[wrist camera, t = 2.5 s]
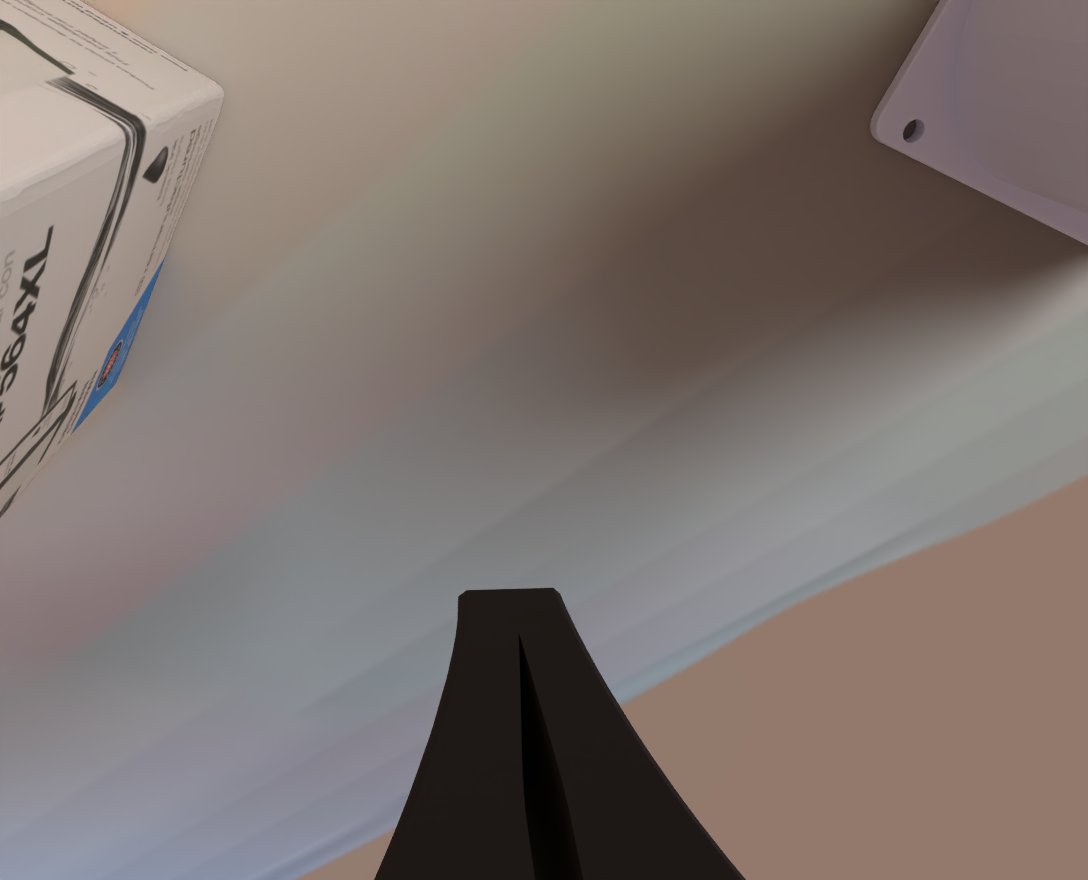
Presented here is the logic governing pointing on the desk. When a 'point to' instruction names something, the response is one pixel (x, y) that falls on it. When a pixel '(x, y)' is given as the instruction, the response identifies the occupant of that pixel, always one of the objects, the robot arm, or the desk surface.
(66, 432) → the ink box
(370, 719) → the desk surface
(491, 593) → the robot arm
